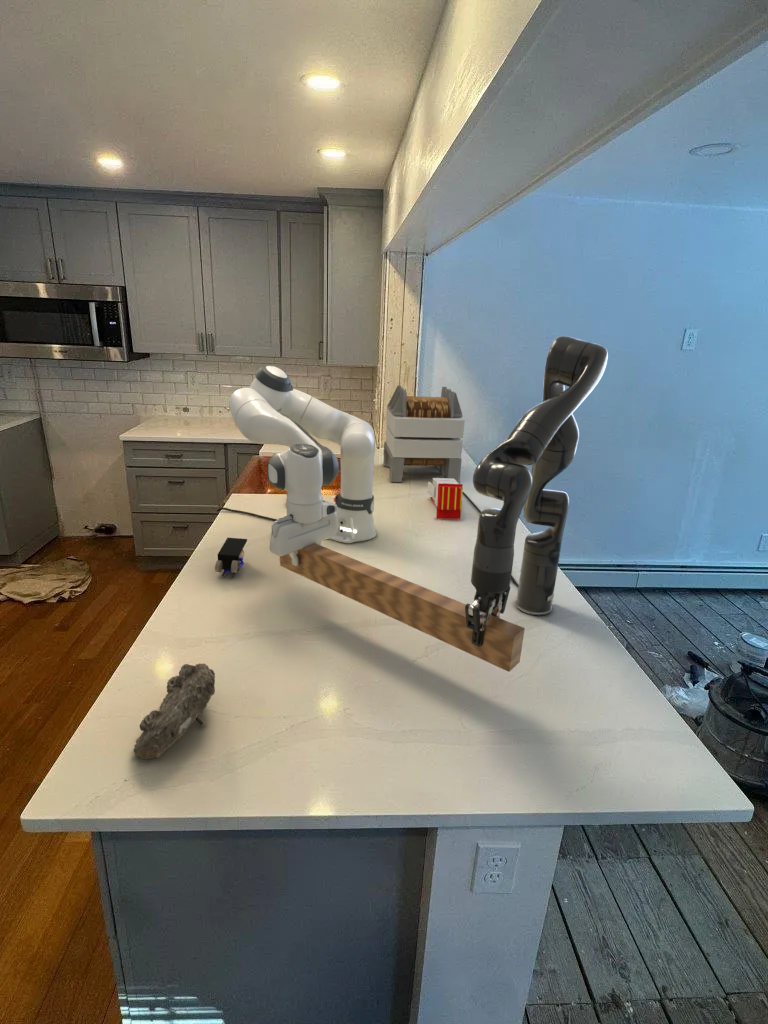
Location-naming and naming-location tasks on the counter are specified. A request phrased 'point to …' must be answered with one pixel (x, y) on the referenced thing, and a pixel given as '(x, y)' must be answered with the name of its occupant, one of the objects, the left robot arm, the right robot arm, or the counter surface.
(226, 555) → the figurine character
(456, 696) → the counter surface
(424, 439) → the transformer
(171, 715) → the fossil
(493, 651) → the post
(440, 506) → the toy
